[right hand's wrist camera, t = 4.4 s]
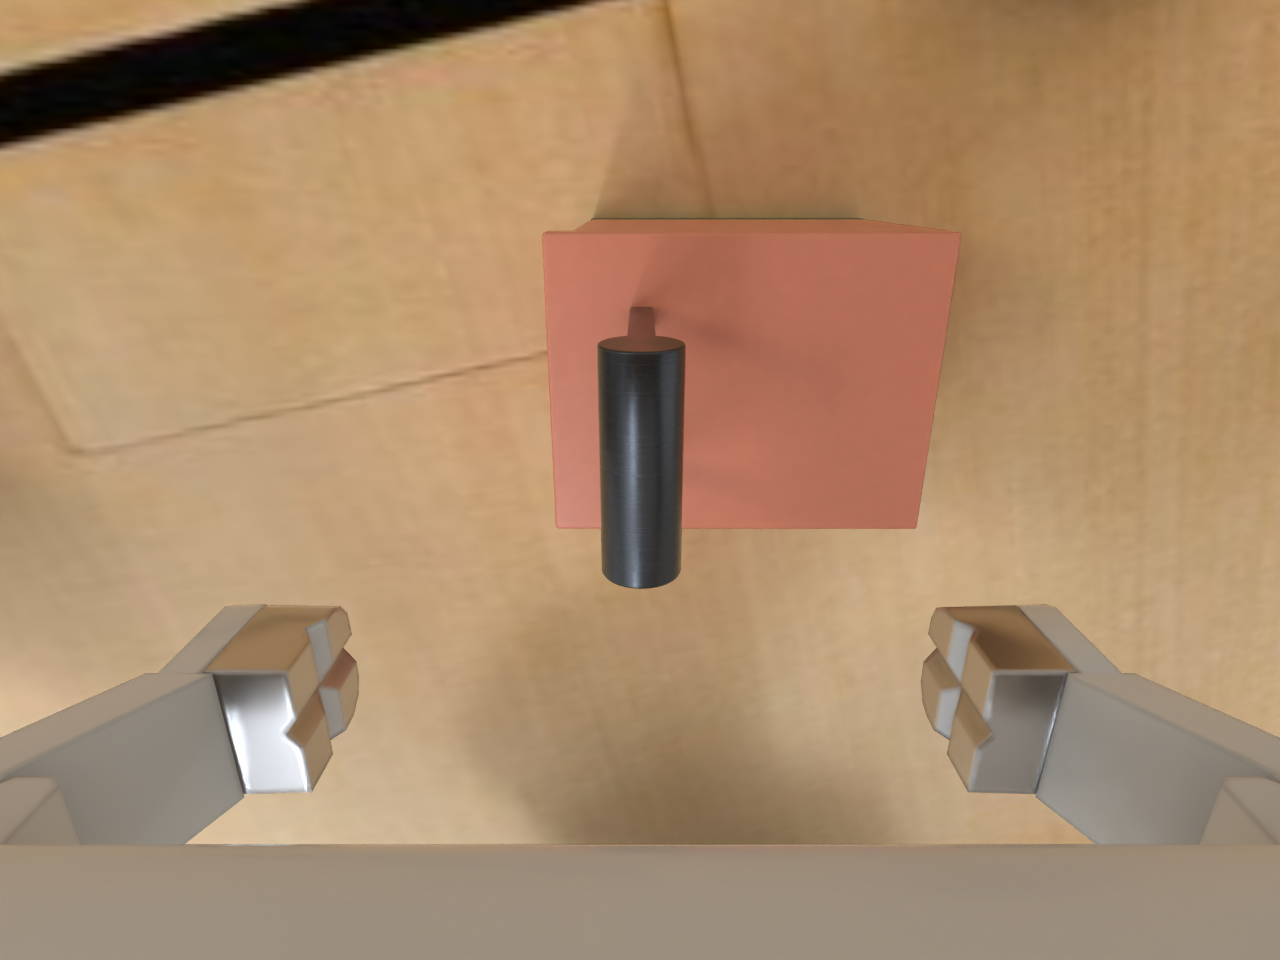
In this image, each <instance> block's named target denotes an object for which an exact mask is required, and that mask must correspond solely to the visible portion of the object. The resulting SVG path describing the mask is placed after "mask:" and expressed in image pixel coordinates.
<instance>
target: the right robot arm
mask: <svg viewBox="0 0 1280 960" xmlns="http://www.w3.org/2000/svg"><path fill="white" fill-rule="evenodd" d="M351 634H352V633H351V629H350V624H349V619H348V614H347V612H346V611H345V610H344V609H343V608H342V607H341V606H298V605H269V606H268V605H265V604H260V605H232V606H227V607H224V608H223V609H222V610H221V611H220V612H219V613H218V614H217V615H216V616H215V617H214V618H213V619H212V620H211V621H210V622H209V623H208V624H207V625H206V626H205V627H204V628H203V629H202V630H201V631H200V632H199V633H198V634H197V635H196V636H195V637H194V638H193V639H192V640H191V641H190V642H189V643H188V644H187V645H186V646H185V647H184V648H183V649H182V650H181V651H180V652H179V653H178V654H177V655H176V656H175V657H174V658H173V659H172V660H171V661H170V662H169V663H168V664H167V665H166V666H165V667H164V668H163V669H162V670H161V671H160V672H159V673H145V674H143V675H141V676H139V677H136V678H134V679H132V680H130V681H127V682H125V683H123V684H121V685H118V686H116V687H114V688H112V689H109V690H107V691H105V692H103V693H100V694H98V695H96V696H94V697H91V698H89V699H87V700H84V701H82V702H80V703H78V704H75V705H73V706H71V707H69V708H66V709H64V710H62V711H60V712H57V713H55V714H53V715H51V716H48V717H46V718H44V719H42V720H39V721H37V722H35V723H33V724H30V725H28V726H26V727H23V728H21V729H19V730H17V731H14V732H12V733H10V734H8V735H5V736H3V737H1V738H0V960H1280V738H1279V737H1276V736H1274V735H1272V734H1270V733H1267V732H1265V731H1263V730H1261V729H1258V728H1256V727H1254V726H1252V725H1249V724H1247V723H1245V722H1243V721H1240V720H1238V719H1236V718H1234V717H1231V716H1229V715H1227V714H1225V713H1222V712H1220V711H1218V710H1216V709H1213V708H1211V707H1209V706H1207V705H1204V704H1202V703H1200V702H1198V701H1195V700H1193V699H1191V698H1189V697H1186V696H1184V695H1182V694H1180V693H1177V692H1175V691H1173V690H1171V689H1168V688H1166V687H1164V686H1162V685H1159V684H1157V683H1155V682H1153V681H1150V680H1148V679H1146V678H1144V677H1141V676H1139V675H1137V674H1135V673H1121V672H1120V671H1119V670H1118V669H1117V668H1116V667H1115V666H1114V665H1113V664H1112V663H1111V662H1110V661H1109V660H1108V659H1107V658H1106V657H1105V656H1104V655H1103V654H1102V653H1101V652H1100V651H1099V650H1098V649H1097V648H1096V647H1095V646H1094V645H1093V644H1092V643H1091V642H1090V641H1089V640H1088V639H1087V638H1086V637H1085V636H1084V635H1083V634H1082V633H1081V632H1080V631H1079V630H1078V629H1077V628H1076V627H1075V626H1074V625H1073V624H1072V623H1071V622H1070V621H1069V620H1068V619H1067V618H1066V617H1065V616H1064V615H1063V614H1062V613H1061V612H1060V611H1059V610H1058V609H1057V608H1055V607H1053V606H1050V605H1047V604H1037V605H1012V606H972V607H940V608H936V609H935V612H934V614H933V616H932V618H931V622H930V628H929V633H928V634H929V636H930V637H931V639H932V641H933V642H934V644H935V645H936V647H937V648H936V649H935V650H934V651H933V652H932V653H931V654H930V655H929V656H928V657H927V658H926V660H925V661H924V662H923V670H922V678H921V689H922V700H923V705H924V708H925V711H926V715H927V717H928V719H929V721H930V723H931V725H932V727H933V729H934V730H935V731H936V732H938V733H939V734H941V735H942V736H944V737H945V738H947V739H949V740H950V741H949V746H948V752H947V755H948V757H949V758H950V760H951V762H952V764H953V766H954V767H955V769H956V771H957V773H958V775H959V776H960V778H961V780H962V782H963V784H964V785H965V787H966V789H967V791H968V792H981V793H1018V794H1036V798H1038V799H1039V800H1040V801H1042V802H1043V803H1044V804H1045V805H1047V806H1048V807H1049V808H1050V809H1052V810H1053V811H1054V812H1056V813H1057V814H1058V815H1059V816H1061V817H1062V818H1063V819H1064V820H1066V821H1067V822H1068V823H1070V824H1071V825H1072V826H1073V827H1075V828H1076V829H1077V830H1078V831H1080V832H1081V833H1082V834H1084V835H1085V836H1086V837H1087V838H1089V839H1090V840H1091V841H1092V842H1094V843H1095V844H185V843H186V842H188V841H189V840H190V839H192V838H193V837H194V836H195V835H197V834H198V833H199V832H201V831H202V830H203V829H204V828H206V827H207V826H208V825H209V824H211V823H212V822H213V821H215V820H216V819H217V818H218V817H220V816H221V815H222V814H223V813H225V812H226V811H227V810H229V809H230V808H231V807H232V806H234V805H235V804H236V803H238V802H239V801H240V800H241V799H243V798H244V794H262V793H297V792H312V791H313V789H314V787H315V786H316V784H317V782H318V780H319V778H320V776H321V775H322V773H323V771H324V769H325V767H326V766H327V764H328V762H329V760H330V758H331V757H332V755H333V752H332V746H331V741H330V740H331V739H333V738H335V737H336V736H338V735H339V734H341V733H342V732H344V731H345V730H346V729H347V727H348V725H349V723H350V721H351V719H352V717H353V715H354V712H355V707H356V703H357V699H358V694H359V675H358V669H357V662H356V661H355V660H354V658H353V657H352V656H351V655H350V654H349V653H348V652H347V651H346V650H345V649H344V648H343V647H344V645H345V644H346V642H347V641H348V639H349V637H350V636H351Z"/></svg>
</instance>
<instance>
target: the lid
mask: <svg viewBox="0 0 1280 960" xmlns="http://www.w3.org/2000/svg"><path fill="white" fill-rule="evenodd" d="M960 241H961V233H959V232H953V231H547V232H545V233H543V235H542V243H543V264H544V285H545V306H546V327H547V348H548V369H549V390H550V411H551V432H552V453H553V475H554V496H555V517H556V527H557V528H601V545H602V571H603V574H604V575H605V577H606V578H607V579H608V580H610V581H611V582H613V583H615V584H617V585H620V586H624V587H629V588H638V589H644V588H654V587H659V586H663V585H666V584H668V583H670V582H672V581H673V580H674V579H676V578H677V577H678V575H679V573H680V570H681V533H682V528H714V529H915V528H916V527H917V520H918V514H919V507H920V501H921V494H922V488H923V481H924V475H925V468H926V462H927V455H928V449H929V442H930V436H931V429H932V423H933V416H934V410H935V403H936V397H937V390H938V384H939V377H940V371H941V364H942V358H943V351H944V345H945V338H946V332H947V325H948V319H949V312H950V306H951V299H952V293H953V286H954V280H955V273H956V267H957V260H958V254H959V247H960Z"/></svg>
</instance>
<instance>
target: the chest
mask: <svg viewBox="0 0 1280 960" xmlns="http://www.w3.org/2000/svg"><path fill="white" fill-rule="evenodd" d="M574 231H946V230H939V229H932V228H924V227H916V226H909V225H901V224H894V223H886V222H879V221H871V220H864V219H859V218H686V219H591V221H589V222H587V223H586V224H584V225H582V226H581V227H579V228H577V229H576V230H574Z"/></svg>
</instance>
